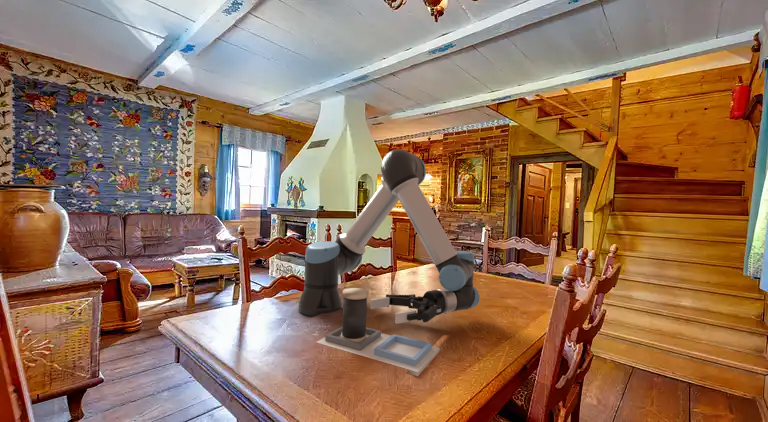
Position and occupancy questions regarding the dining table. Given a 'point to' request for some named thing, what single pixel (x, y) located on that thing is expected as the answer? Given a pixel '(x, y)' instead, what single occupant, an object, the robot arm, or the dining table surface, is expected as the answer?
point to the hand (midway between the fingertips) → (382, 310)
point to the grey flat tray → (386, 349)
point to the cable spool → (354, 314)
